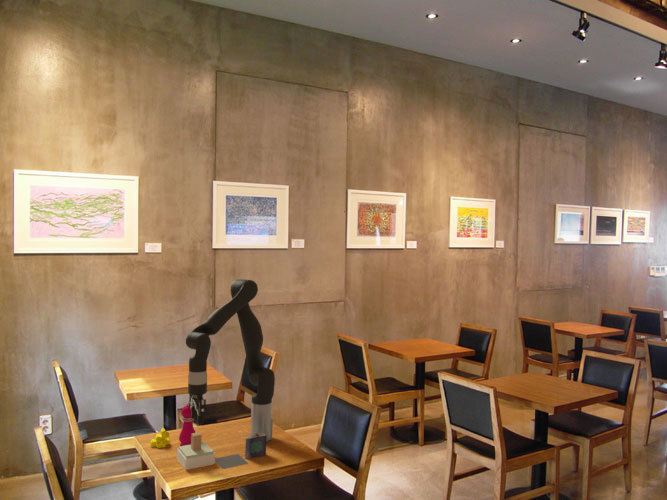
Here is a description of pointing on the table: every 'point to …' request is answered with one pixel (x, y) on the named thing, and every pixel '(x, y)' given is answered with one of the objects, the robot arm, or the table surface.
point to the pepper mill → (186, 426)
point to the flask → (255, 445)
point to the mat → (230, 461)
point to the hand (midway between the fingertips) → (197, 421)
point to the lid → (195, 447)
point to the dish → (195, 460)
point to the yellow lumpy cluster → (161, 439)
